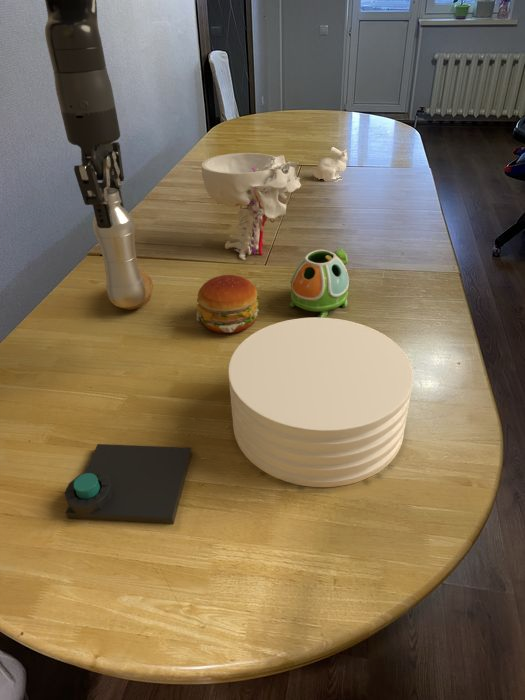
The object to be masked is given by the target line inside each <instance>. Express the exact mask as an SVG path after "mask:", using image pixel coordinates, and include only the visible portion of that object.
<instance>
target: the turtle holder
mask: <svg viewBox="0 0 525 700" xmlns="http://www.w3.org/2000/svg"><path fill="white" fill-rule="evenodd" d="M348 263H349V258H348V255H347V253H346V252H345V251H344V249H342V248H339V249H338V250H336V251H335V252H333V251H330V250H326V249H316V250H312V251H311V252H308V253H307V254H306V255H305V256H304V258H303V259H302V260H301V261H300V262H298V264H297V266H296V267H295V269H294V270H293V273H292V276H291V278H290V299H291V302H290V303H289V306H290V307H291V308H294V307H298V308H299V309H302V310H305V311H309V312H319V314H318V316H317V318H328V315H329V311H331V310H335V309H337V308H339V307H340V306H341V307H342V308H347V306H348V296H349V290H348V289H349V286H350V278H349V273H348V270H347V267H346V265H347V264H348Z"/></svg>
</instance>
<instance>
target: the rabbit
mask: <svg viewBox="0 0 525 700" xmlns="http://www.w3.org/2000/svg"><path fill="white" fill-rule="evenodd" d="M330 153H331V154H334V155H337V156H336V157H334V158H331V157H323V158H321V159H320V160H319V161H318V163H317V165H316V170H314V171H313V177H314V178H315V179H317V178H321V179H324V180H325V179H326V180H330V179H336V178H339V177H341V175H342V173H345V170H346V168H347V162H348V159H349V158H348V150H347V149H344V150H339V149H338V148H336V147H334V146H332V147H331V148H330ZM339 175H340V176H339ZM318 180H320V179H318ZM342 180H343V178H342V179H338V180H337V181H324V182H327V183H337V182H338V181H342ZM320 181H321V180H320Z"/></svg>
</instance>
